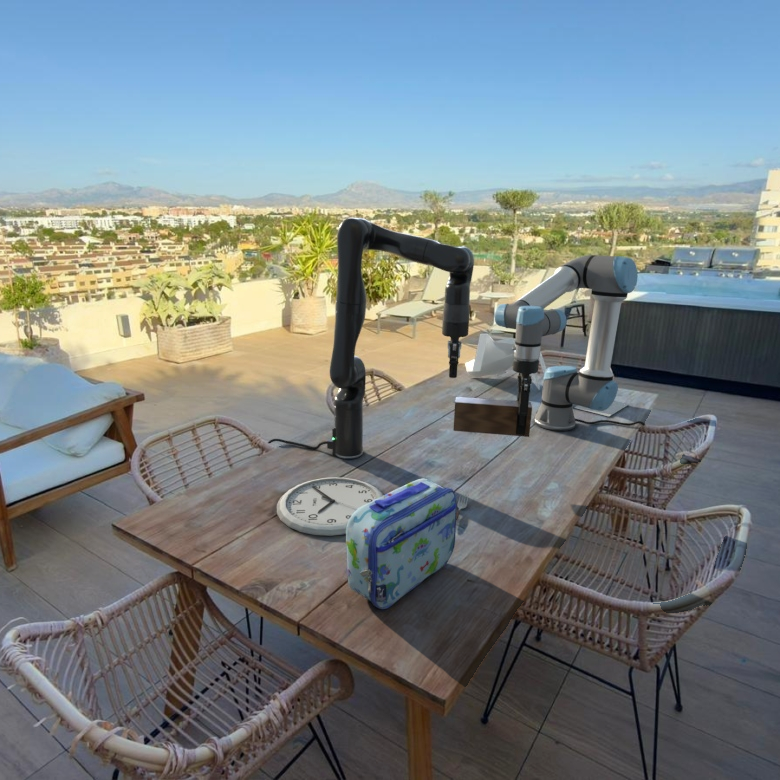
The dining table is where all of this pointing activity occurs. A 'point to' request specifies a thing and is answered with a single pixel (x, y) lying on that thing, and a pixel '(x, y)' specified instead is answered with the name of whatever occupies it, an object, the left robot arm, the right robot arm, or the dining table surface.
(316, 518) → the wall clock
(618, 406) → the grey wooden board
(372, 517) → the lunch box
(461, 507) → the fork
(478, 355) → the white plastic object
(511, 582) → the dining table surface
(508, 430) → the bar
